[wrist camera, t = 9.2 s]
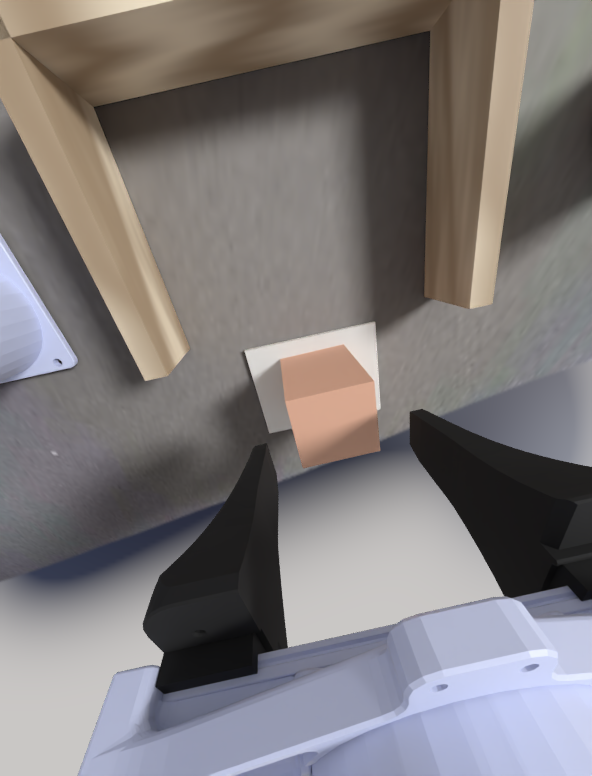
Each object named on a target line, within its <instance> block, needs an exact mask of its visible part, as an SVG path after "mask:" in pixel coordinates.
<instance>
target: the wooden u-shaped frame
mask: <svg viewBox="0 0 592 776" xmlns="http://www.w3.org/2000/svg"><path fill="white" fill-rule="evenodd" d="M533 5H534V0H0V98H1V100H2V102H3V104H4V106H5V108H6V110H7V112H8V114H9V116H10V118H11V119H12V121H13V123H14V125H15V127H16V129H17V131H18V133H19V135H20V137H21V139H22V141H23V143H24V145H25V147H26V149H27V151H28V153H29V155H30V157H31V159H32V161H33V162H34V164H35V166H36V168H37V170H38V172H39V174H40V176H41V178H42V180H43V182H44V184H45V186H46V188H47V190H48V192H49V194H50V196H51V198H52V200H53V202H54V204H55V205H56V207H57V209H58V211H59V213H60V215H61V217H62V219H63V221H64V223H65V225H66V227H67V229H68V231H69V233H70V235H71V237H72V239H73V241H74V243H75V245H76V247H77V248H78V250H79V252H80V254H81V256H82V258H83V260H84V262H85V264H86V266H87V268H88V270H89V272H90V274H91V276H92V278H93V280H94V282H95V284H96V286H97V288H98V289H99V291H100V293H101V295H102V297H103V299H104V301H105V303H106V305H107V307H108V309H109V311H110V313H111V315H112V317H113V319H114V321H115V323H116V325H117V327H118V329H119V331H120V332H121V334H122V336H123V338H124V340H125V342H126V344H127V346H128V348H129V350H130V352H131V354H132V356H133V358H134V360H135V362H136V364H137V366H138V368H139V370H140V372H141V374H142V375H143V377H144V379H145V381H147V380H152V379H156V378H161V377H165V376H168V375H169V374H170V373H171V371H172V370H173V369H174V368H175V367H176V365H177V364H178V363H179V362H180V360H181V359H182V358H183V357H184V356H185V354H186V353H187V352H188V351H189V349H190V347H189V345H188V342H187V340H186V337H185V335H184V332H183V330H182V327H181V325H180V322H179V320H178V317H177V315H176V312H175V310H174V307H173V305H172V302H171V300H170V297H169V295H168V292H167V290H166V287H165V285H164V282H163V280H162V277H161V275H160V272H159V270H158V267H157V265H156V262H155V260H154V257H153V255H152V252H151V250H150V247H149V245H148V242H147V240H146V237H145V235H144V232H143V230H142V227H141V225H140V222H139V220H138V217H137V215H136V212H135V210H134V207H133V205H132V202H131V200H130V197H129V195H128V192H127V190H126V187H125V185H124V182H123V180H122V177H121V175H120V172H119V170H118V167H117V165H116V162H115V160H114V157H113V155H112V152H111V150H110V147H109V145H108V142H107V140H106V137H105V135H104V132H103V130H102V127H101V125H100V122H99V120H98V117H97V115H96V112H95V110H94V107H96V106H101V105H105V104H109V103H114V102H118V101H123V100H127V99H131V98H136V97H140V96H145V95H149V94H153V93H158V92H162V91H167V90H171V89H175V88H180V87H184V86H189V85H193V84H197V83H202V82H206V81H211V80H215V79H219V78H224V77H228V76H233V75H237V74H241V73H246V72H250V71H255V70H259V69H263V68H268V67H272V66H277V65H281V64H285V63H290V62H294V61H299V60H303V59H307V58H312V57H316V56H321V55H325V54H329V53H334V52H338V51H343V50H347V49H351V48H356V47H360V46H365V45H369V44H373V43H378V42H382V41H387V40H391V39H395V38H400V37H404V36H409V35H413V34H417V33H422V32H426V31H430V69H429V112H428V155H427V198H426V241H425V284H424V297H427V298H431V299H435V300H438V301H442V302H446V303H449V304H453V305H457V306H460V307H464V308H468V309H472V308H476V307H481V306H485V305H490V304H492V302H493V295H494V288H495V281H496V273H497V266H498V259H499V252H500V244H501V237H502V230H503V223H504V215H505V208H506V201H507V194H508V187H509V179H510V172H511V165H512V158H513V150H514V143H515V136H516V129H517V121H518V114H519V107H520V100H521V92H522V85H523V78H524V71H525V63H526V56H527V49H528V42H529V34H530V27H531V20H532V13H533Z"/></svg>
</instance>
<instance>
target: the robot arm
mask: <svg viewBox="0 0 592 776" xmlns="http://www.w3.org/2000/svg"><path fill="white" fill-rule="evenodd" d="M57 359H59V360H61V361H62V364H60V363H59V362H58V360H57ZM77 363H78V360H77V357H76V356H75V354H74V352H73V351H72V349H71V347H70V346H69V344H68V343H67V341H66V339H65V338H64V336H63V334H62V333H61V331H60V330H59V328H58V326H57V325H56V323H55V321H54V320H53V318H52V317H51V315H50V313H49V312H48V310H47V308H46V307H45V305H44V304H43V302H42V300H41V299H40V297H39V296H38V294H37V292H36V291H35V289H34V287H33V286H32V284H31V283H30V281H29V279H28V278H27V276H26V274H25V273H24V271H23V270H22V268H21V266H20V265H19V263H18V261H17V260H16V258H15V257H14V255H13V253H12V252H11V250H10V248H9V247H8V245H7V244H6V242H5V240H4V239H3V237H2V235H1V234H0V383H5V382H9V381H14V380H18V379H23V378H27V377H32V376H36V375H41V374H45V373H50V372H54V371H59V370H63V369H68V368H71V367H73V366H75V365H76V364H77ZM410 445H411V447H412V449H413V451H414V452H415V454H416V456H417V458H418V459H419V461H420V463H421V464H422V465H423V467H424V468H425V469H426V470H427V472H428V473H429V475H430V476H431V477H432V479H433V480H434V481H435V483H436V484H437V485H438V486H439V488H440V489H441V490H442V491H443V493H444V494H445V496H446V497H447V498H448V500H449V501H450V502H451V504H452V505H453V506H454V508H455V510H456V511H457V513H458V515H459V516H460V518H461V519H462V521H463V523H464V524H465V526H466V527H467V529H468V531H469V533H470V534H471V536H472V538H473V539H474V541H475V543H476V545H477V546H478V548H479V550H480V552H481V553H482V555H483V557H484V559H485V561H486V562H487V564H488V566H489V568H490V570H491V571H492V573H493V575H494V577H495V579H496V581H497V583H498V585H499V587H500V589H501V591H502V592H503V594H504V597H493V598H488V599H483V600H479V601H474V602H470V603H465V604H461V605H456V606H452V607H447V608H443V609H438V610H434V611H429V612H425V613H420V614H416V615H414V616H411V617H408V618H405V619H403V620H401V621H400V622H398V623H397V624H393V625H388V626H384V627H379V628H375V629H370V630H366V631H361V632H357V633H353V634H348V635H343V636H339V637H335V638H330V639H325V640H321V641H316V642H312V643H308V644H303V645H299V646H294V647H289V648H288V646H287V637H286V628H285V619H284V609H283V599H282V588H281V578H280V566H279V554H278V484H277V475H276V471H275V468H274V465H273V461H272V458H271V455H270V452H269V449H268V445H267V444H263V445H258V446H255V447H254V448H253V450H252V453H251V455H250V458H249V460H248V462H247V464H246V466H245V468H244V470H243V472H242V474H241V476H240V478H239V480H238V482H237V484H236V486H235V487H234V489H233V491H232V493H231V494H230V496H229V498H228V499H227V501H226V502H225V504H224V505H223V507H222V508H221V510H220V511H219V513H218V514H217V515H216V516H215V518H214V519H213V520H212V522H211V523H210V524H209V526H208V527H207V528H206V529H205V531H204V532H203V533H202V534H201V535H200V536H199V537H198V539H197V540H196V541H195V542H194V543H193V544H192V545H191V546H190V547H189V548H188V549H187V550H186V551H185V552H184V554H182V555H181V556H180V557H179V558H178V559H177V560H176V561H175V562H174V563H173V564H172V565H171V566H170V567H169V568H168V569H167V570H166V571H164V572H163V573H162V574H161V575H160V577H159V579H158V582H157V584H156V586H155V589H154V591H153V594H152V597H151V600H150V603H149V606H148V609H147V612H146V615H145V618H144V621H143V630H144V631H145V633H146V634H147V636H148V637H149V638H150V639H151V640H152V641H153V642H154V643H155V644H156V645H157V646H158V647H159V648H160V649H161V650H162V651H163V652H164V656H163V659H162V663H161V667H159V666H155V665H150V666H144V667H139V668H135V669H130V670H126V671H121V672H117V673H116V674H115V675H114V676H113V679H112V682H111V684H110V687H109V690H108V693H107V695H106V698H105V701H104V704H103V706H102V709H101V712H100V715H99V718H98V720H97V723H96V726H95V729H94V731H93V734H92V737H91V740H90V742H89V745H88V748H87V751H86V753H85V756H84V759H83V762H82V765H81V767H80V770H79V773H78V776H592V467H589V466H583V465H578V464H573V463H569V462H564V461H559V460H555V459H551V458H547V457H543V456H539V455H536V454H532V453H529V452H524V451H522V450H518V449H515V448H512V447H509V446H506V445H503V444H500V443H497V442H494V441H492V440H489V439H487V438H484V437H482V436H479V435H477V434H474V433H472V432H470V431H467V430H465V429H463V428H461V427H459V426H457V425H454V424H452V423H450V422H448V421H446V420H444V419H442V418H440V417H438V416H436V415H434V414H432V413H430V412H428V411H425V410H423V409H420V410H415V411H411V412H410Z"/></svg>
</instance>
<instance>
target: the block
mask: <svg viewBox="0 0 592 776" xmlns="http://www.w3.org/2000/svg"><path fill="white" fill-rule="evenodd" d="M280 363H281V371H282V380H283V388H284V397H285V403H286V407H287V411H288V415H289V418H290V422H291V426H292V429H293V433H294V437H295V441H296V444H297V448H298V452H299V456H300V459H301V463H302V467H303V468H307V467H311V466H315V465H320V464H324V463H329V462H333V461H337V460H341V459H346V458H350V457H355V456H358V455H363V454H367V453H372V452H376V451H380V442H379V430H378V418H377V407H376V395H375V383H374V380H373V379H372V378H371V376H370V375H369V374H368V373H367V372H366V370H365V369H364V368H363V367H362V366H361V364H360V363H359V362H358V361H357V360H356V359H355V357H354V356H353V355H352V354H351V353H350V351H349V350H348V349H347V348H346V347H345V345H344V344H342V345H338V346H334V347H330V348H325V349H321V350H317V351H313V352H308V353H304V354H300V355H296V356H291V357H287V358H283V359H280Z"/></svg>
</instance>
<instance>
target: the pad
mask: <svg viewBox="0 0 592 776" xmlns="http://www.w3.org/2000/svg"><path fill="white" fill-rule="evenodd" d="M342 344H344V345H345V347H346V348H347V349H348V350H349V351H350V353H351V354H352V355H353V356H354V357H355V359H356V360H357V361H358V362H359V363H360V364H361V366H362V367H363V368H364V369H365V370H366V372H367V373H368V374H369V375H370V376H371V378H372V379H373V380H374V383H375V395H376V407H377V410H378V409H380V393H379V376H378V360H377V343H376V327H375V322H374V321H373V322H368V323H364V324H359V325H355V326H350V327H346V328H341V329H337V330H332V331H328V332H323V333H319V334H314V335H310V336H305V337H301V338H296V339H292V340H287V341H283V342H278V343H274V344H269V345H265V346H260V347H256V348H251V349H247V350H245V354H246V358H247V361H248V364H249V367H250V371H251V374H252V377H253V381H254V384H255V387H256V391H257V394H258V397H259V401H260V404H261V407H262V410H263V414H264V417H265V420H266V424H267V427H268V430H269V433H274V432H279V431H283V430H288V429H292V426H291V422H290V418H289V415H288V411H287V407H286V403H285V397H284V388H283V380H282V371H281V363H280V359H283V358H287V357H291V356H296V355H300V354H304V353H308V352H313V351H317V350H321V349H325V348H330V347H334V346H338V345H342Z"/></svg>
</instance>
